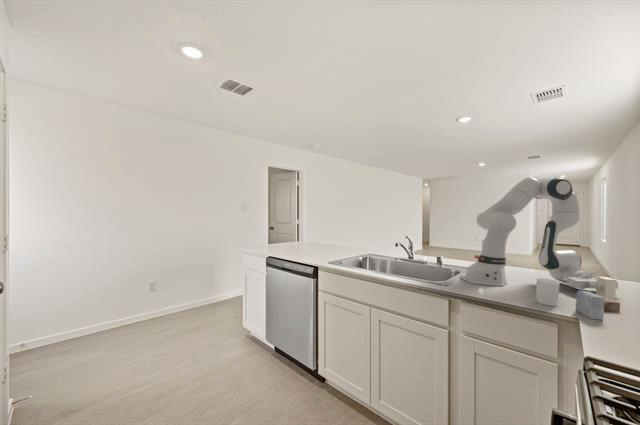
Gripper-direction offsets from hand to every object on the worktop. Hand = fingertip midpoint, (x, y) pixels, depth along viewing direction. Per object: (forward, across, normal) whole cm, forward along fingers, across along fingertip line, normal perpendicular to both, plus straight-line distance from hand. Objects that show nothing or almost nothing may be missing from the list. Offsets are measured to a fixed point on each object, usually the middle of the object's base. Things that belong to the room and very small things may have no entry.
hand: (607, 288), depth 126 cm
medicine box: (+19, -26, +6) cm, 33 cm away
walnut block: (+9, -13, +6) cm, 17 cm away
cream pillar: (-1, 0, +6) cm, 6 cm away
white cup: (+7, -33, +6) cm, 34 cm away
